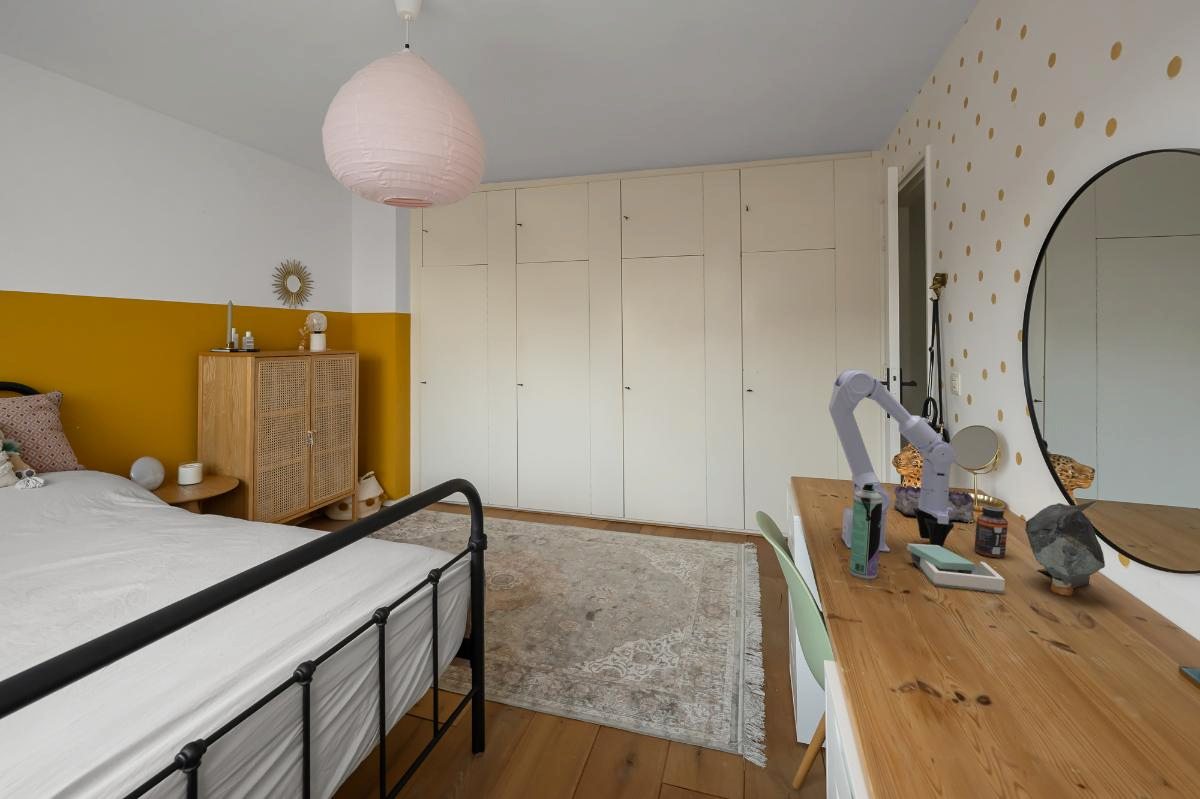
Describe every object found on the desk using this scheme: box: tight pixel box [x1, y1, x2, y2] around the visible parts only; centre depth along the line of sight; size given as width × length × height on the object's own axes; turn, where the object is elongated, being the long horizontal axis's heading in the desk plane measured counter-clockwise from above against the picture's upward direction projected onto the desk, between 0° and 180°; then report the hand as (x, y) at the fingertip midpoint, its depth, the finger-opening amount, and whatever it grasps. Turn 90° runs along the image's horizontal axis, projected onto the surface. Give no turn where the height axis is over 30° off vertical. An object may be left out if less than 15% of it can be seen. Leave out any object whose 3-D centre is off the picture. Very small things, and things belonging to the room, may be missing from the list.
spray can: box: [849, 483, 882, 580], centre depth 113 cm, size 6×6×20 cm
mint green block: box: [906, 543, 976, 574], centre depth 115 cm, size 8×11×3 cm
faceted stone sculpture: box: [1024, 500, 1106, 597], centre depth 107 cm, size 14×15×18 cm
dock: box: [911, 557, 1006, 595], centre depth 113 cm, size 12×14×3 cm
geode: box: [893, 485, 976, 523], centre depth 154 cm, size 20×12×10 cm, turn 66°
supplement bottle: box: [974, 505, 1009, 559], centre depth 125 cm, size 6×6×11 cm
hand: (930, 543), depth 128 cm, fingers open, 7 cm apart
